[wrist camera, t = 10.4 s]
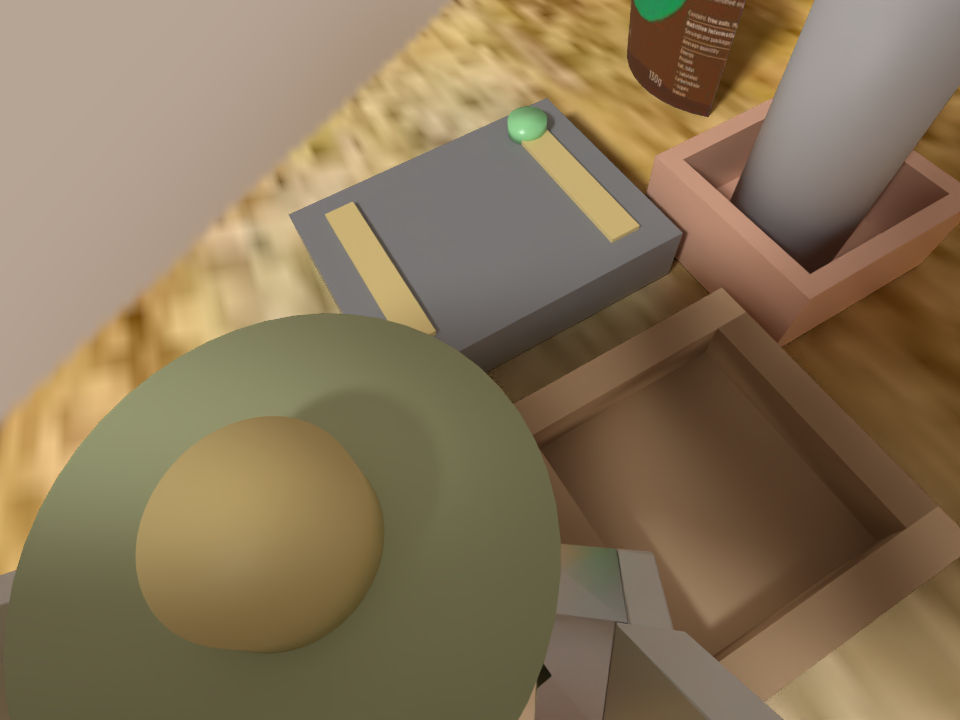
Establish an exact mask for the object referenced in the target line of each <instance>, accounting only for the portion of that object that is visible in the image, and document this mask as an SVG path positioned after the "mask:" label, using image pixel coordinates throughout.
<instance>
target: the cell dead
mask: <svg viewBox="0 0 960 720" xmlns="http://www.w3.org/2000/svg"><path fill="white" fill-rule="evenodd" d="M959 85H960V0H815V1H814V3H813V5H812V8H811V10H810V13H809V15H808V17H807V20H806V22H805V24H804V27H803V29H802V32H801V34H800V36H799V39H798V41H797V43H796V46H795V48H794V51H793V53H792V55H791V58H790V60H789V62H788V65H787V67H786V69H785V72H784V74H783V77H782V79H781V81H780V84H779V86H778V88H777V91H776V93H775V96H774V98H773V100H772V103H771V105H770V107H769V110H768V112H767V114H766V117H765V119H764V122H763V124H762V126H761V129H760V131H759V133H758V136H757V138H756V141H755V143H754V145H753V148H752V150H751V152H750V155H749V157H748V160H747V162H746V164H745V167H744V169H743V171H742V174H741V176H740V178H739V181H738V183H737V186H736V188H735V190H734V193H733V195H732V197H731V200H730V202H731V203H732V204H733V205H734V206H735V207H736V208H737V209H739V210H740V211H741V212H742V213H743V214H744V215H745V216H746V217H747V218H749V219H750V220H751V221H752V222H753V223H754V224H755V225H756V226H757V227H758V228H760V229H761V230H762V231H763V232H764V233H765V234H766V235H767V236H768V237H770V238H771V239H772V240H773V241H774V242H775V243H776V244H777V245H778V246H780V247H781V248H782V249H783V250H784V251H785V252H786V253H787V254H788V255H789V256H791V257H792V258H793V259H794V260H795V261H796V262H797V263H798V264H799V265H801V266H802V267H803V268H804V269H805V270H806V271H807V272H808V273H809V274H811V273H813V272H815V271H817V270H818V269H820V268H822V267H824V266H825V265H827V264H829V263H830V262H832V260H833V259H834V258H835V256H836V255H837V254H838V252H839V251H840V250H841V248H842V247H843V245H844V244H845V243H846V241H847V240H848V239H849V237H850V236H851V234H852V233H853V232H854V230H855V229H856V227H857V226H858V225H859V223H860V222H861V221H862V219H863V218H864V216H865V215H866V214H867V212H868V211H869V210H870V208H871V207H872V205H873V204H874V203H875V201H876V200H877V199H878V197H879V196H880V194H881V193H882V192H883V190H884V189H885V187H886V186H887V185H888V183H889V182H890V181H891V179H892V178H893V176H894V175H895V174H896V172H897V171H898V170H899V168H900V167H901V165H902V164H903V163H904V161H905V160H906V159H907V157H908V156H909V154H910V153H911V152H912V150H913V149H914V148H915V146H916V145H917V143H918V142H919V141H920V139H921V138H922V136H923V135H924V134H925V132H926V131H927V130H928V128H929V127H930V125H931V124H932V123H933V121H934V120H935V119H936V117H937V116H938V114H939V113H940V112H941V110H942V109H943V108H944V106H945V105H946V103H947V102H948V101H949V99H950V98H951V96H952V95H953V94H954V92H955V91H956V90H957V88H958V87H959Z"/></svg>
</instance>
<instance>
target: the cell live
mask: <svg viewBox="0 0 960 720" xmlns="http://www.w3.org/2000/svg"><path fill="white" fill-rule="evenodd" d="M560 579H561V538H560V530H559V522H558V514H557V506H556V501H555V497H554V493H553V490H552V486H551V482H550V478H549V474H548V470H547V468H546V465H545V463H544V460H543V458H542V456H541V453H540V451H539V448H538V446H537V443H536V441H535V439H534V437H533V435H532V433H531V432H530V430H529V428H528V426H527V425H526V423H525V421H524V419H523V418H522V416H521V414H520V413H519V411H518V410H517V408H516V407H515V406H514V405H513V403H512V402H511V401H510V399H509V398H508V397H507V395H506V394H505V393H504V392H503V390H502V389H501V388H500V387H499V386H498V385H497V384H496V383H495V382H494V381H493V380H492V379H491V378H490V377H489V376H488V375H487V374H486V373H485V372H484V371H483V370H482V369H481V368H480V367H479V366H477V365H476V364H475V363H474V362H472V361H471V360H470V359H468V358H467V357H466V356H464V355H463V354H462V353H460V352H459V351H458V350H456V349H454V348H453V347H451V346H449V345H447V344H445V343H444V342H442V341H440V340H438V339H437V338H435V337H433V336H431V335H429V334H426V333H424V332H421V331H419V330H416V329H414V328H411V327H409V326H406V325H403V324H399V323H395V322H392V321H388V320H384V319H381V318H375V317H368V316H361V315H354V314H328V313H321V314H309V315H297V316H290V317H285V318H280V319H275V320H269V321H264V322H261V323H258V324H255V325H251V326H248V327H245V328H241V329H238V330H235V331H233V332H230V333H228V334H225V335H223V336H221V337H218V338H216V339H213V340H211V341H209V342H206V343H205V344H203V345H201V346H199V347H197V348H195V349H193V350H191V351H190V352H188V353H186V354H184V355H182V356H180V357H178V358H177V359H175V360H174V361H172V362H171V363H169V364H168V365H166V366H165V367H163V368H162V369H160V370H159V371H157V372H156V373H154V374H153V375H151V376H150V377H149V378H148V379H147V380H145V381H144V382H143V383H142V384H140V385H139V386H138V387H137V388H135V389H134V390H133V391H132V392H130V393H129V394H128V395H127V396H126V397H125V398H124V399H122V400H121V401H120V402H119V403H118V404H117V405H116V406H115V407H114V408H113V409H112V410H111V411H110V412H109V413H108V414H107V415H106V416H105V417H104V418H103V419H102V420H101V421H100V422H99V423H98V425H97V426H96V427H95V428H94V429H93V431H92V432H91V433H90V434H89V435H88V436H87V438H86V439H85V440H84V441H83V442H82V444H81V445H80V446H79V447H78V448H77V450H76V451H75V453H74V454H73V456H72V457H71V459H70V460H69V461H68V463H67V464H66V466H65V467H64V469H63V470H62V471H61V473H60V474H59V476H58V477H57V479H56V481H55V483H54V484H53V486H52V488H51V490H50V492H49V493H48V495H47V497H46V499H45V501H44V502H43V504H42V506H41V508H40V509H39V512H38V514H37V516H36V519H35V521H34V523H33V526H32V528H31V530H30V533H29V535H28V537H27V540H26V542H25V544H24V547H23V551H22V554H21V557H20V560H19V564H18V567H17V570H16V573H15V576H14V580H13V584H12V589H11V595H10V600H9V605H8V610H7V616H6V623H5V638H4V653H3V665H4V681H5V697H6V703H7V708H8V712H9V717H10V720H518V719H519V718H520V716H521V714H522V712H523V710H524V709H525V707H526V705H527V703H528V701H529V698H530V696H531V693H532V691H533V688H534V686H535V683H536V681H537V678H538V676H539V673H540V671H541V668H542V666H543V663H544V661H545V657H546V653H547V649H548V645H549V641H550V638H551V634H552V630H553V626H554V622H555V617H556V610H557V602H558V595H559V587H560Z"/></svg>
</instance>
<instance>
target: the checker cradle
mask: <svg viewBox="0 0 960 720" xmlns="http://www.w3.org/2000/svg"><path fill="white" fill-rule="evenodd" d="M289 216H290V218H291V220H292V222H293V224H294V226H295V228H296V230H297V232H298V234H299V236H300V238H301V240H302V242H303V244H304V246H305V248H306V250H307V252H308V253H309V255H310V257H311V259H312V261H313V263H314V264H315V266H316V268H317V270H318V272H319V273H320V275H321V277H322V279H323V281H324V283H325V284H326V286H327V288H328V290H329V292H330V293H331V295H332V297H333V299H334V301H335V303H336V304H337V306H338V308H339V310H340V312H341V313H342V314H354V315H361V316H368V317H375V318H381V319H384V320H388V321H392V322H395V323H399V324H403V325H406V326H409V327H411V328H414V329H416V330H419V331H421V332H424V333H426V334H429V335H431V336H433V337H435V338H437V339H438V340H440V341H442V342H444V343H445V344H447V345H449V346H451V347H453V348H454V349H456V350H458V351H459V352H460V353H462V354H463V355H464V356H466V357H467V358H468V359H470V360H471V361H472V362H474V363H475V364H476V365H477V366H479V367H480V368H481V369H482V370H483V371H484V372H485V373H486V372H488V371H490V370H492V369H494V368H495V367H497V366H499V365H501V364H503V363H505V362H507V361H508V360H510V359H512V358H514V357H516V356H518V355H519V354H521V353H523V352H525V351H527V350H529V349H530V348H532V347H534V346H536V345H538V344H540V343H542V342H543V341H545V340H547V339H549V338H551V337H553V336H554V335H556V334H558V333H560V332H562V331H564V330H565V329H567V328H569V327H571V326H573V325H575V324H577V323H578V322H580V321H582V320H584V319H586V318H588V317H589V316H591V315H593V314H595V313H597V312H599V311H601V310H602V309H604V308H606V307H608V306H610V305H612V304H613V303H615V302H617V301H619V300H621V299H623V298H624V297H626V296H628V295H630V294H632V293H634V292H636V291H637V290H639V289H641V288H643V287H645V286H647V285H648V284H650V283H652V282H654V281H656V280H658V279H659V278H661V277H663V276H665V275H667V274H669V271H670V269H671V266H672V263H673V260H674V257H675V254H676V251H677V248H678V245H679V243H680V240H681V237H682V234H683V233H682V232H681V231H680V230H679V229H678V228H677V227H676V226H675V225H674V224H673V223H672V222H671V221H670V220H669V219H668V218H667V217H666V216H665V215H664V214H663V213H662V212H661V211H660V210H659V209H658V208H657V207H656V206H655V205H654V204H653V203H652V202H651V201H650V200H649V199H648V198H647V197H646V196H645V195H644V194H643V193H642V192H641V191H640V190H639V189H638V188H637V187H636V186H635V185H634V184H633V183H632V182H631V181H630V180H629V179H628V178H627V177H626V176H625V175H624V174H623V173H622V172H621V171H620V170H619V169H618V168H617V167H616V166H615V165H614V164H613V163H612V162H611V161H610V160H609V159H608V158H607V157H606V156H605V155H604V154H603V153H602V152H601V151H600V150H599V149H598V148H597V147H596V146H595V145H594V144H593V143H592V142H591V141H590V140H589V139H588V138H587V137H586V136H584V135H583V134H582V133H581V132H580V131H579V130H578V129H577V128H576V127H575V126H574V125H573V124H572V123H571V122H570V121H569V120H568V119H567V118H566V117H565V116H564V115H563V114H562V113H561V112H560V111H559V110H558V109H557V108H556V107H555V106H554V105H553V104H552V103H551V102H550V101H549V100H548V99H547V98H546V99H544V100H541V101H539V102H537V103H535V104H533V105H530V106H525V107H520V108H517V109H515V110H514V111H512V112H511V113H510V114H509V115H508V116H506V117H504V118H502V119H499V120H497V121H495V122H493V123H490V124H488V125H486V126H484V127H482V128H479V129H477V130H475V131H473V132H471V133H468V134H466V135H464V136H462V137H459V138H457V139H455V140H453V141H451V142H448V143H446V144H444V145H442V146H440V147H437V148H435V149H433V150H431V151H428V152H426V153H424V154H422V155H420V156H417V157H415V158H413V159H411V160H409V161H406V162H404V163H402V164H400V165H397V166H395V167H393V168H391V169H389V170H386V171H384V172H382V173H380V174H378V175H375V176H373V177H371V178H369V179H366V180H364V181H362V182H360V183H358V184H355V185H353V186H351V187H349V188H347V189H344V190H342V191H340V192H338V193H335V194H333V195H331V196H329V197H327V198H324V199H322V200H320V201H318V202H316V203H313V204H311V205H309V206H307V207H304V208H302V209H300V210H298V211H296V212H293V213H291V214H289Z"/></svg>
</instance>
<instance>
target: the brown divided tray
mask: <svg viewBox="0 0 960 720" xmlns="http://www.w3.org/2000/svg"><path fill="white" fill-rule="evenodd" d="M513 405H514V406H515V407H516V408H517V410H518V411H519V413H520V414H521V416H522V418H523V419H524V421H525V423H526V425H527V426H528V428H529V430H530V432H531V433H532V435H533V437H534V439H535V441H536V443H537V446H538V448H539V451H540V453H541V456H542V458H543V460H544V463H545V465H546V468H547V470H548V474H549V478H550V482H551V486H552V490H553V493H554V497H555V501H556V506H557V514H558V522H559V530H560V538H561V544H569V545H580V546H590V547H601V548H612V549H628V550H640V551H650V552H651V553H653V554H654V556H655V560H656V564H657V568H658V571H659V575H660V579H661V583H662V587H663V590H664V594H665V598H666V602H667V606H668V609H669V613H670V617H671V621H672V625H673V628H674V630H677V631H684V632H686V633H687V634H688V635H689V636H691V637H692V638H693V639H694V640H695V641H696V642H697V643H698V644H699V645H701V646H702V647H703V648H704V649H705V650H706V651H707V652H708V653H710V654H711V655H712V656H713V657H714V658H715V659H716V660H717V661H718V662H720V663H721V664H722V665H723V666H724V667H725V668H726V669H727V670H729V671H730V672H731V673H732V674H733V675H734V676H735V677H736V678H737V679H739V680H740V681H741V682H742V683H743V684H744V685H745V686H746V687H748V688H749V689H750V690H751V691H752V692H753V693H754V694H755V695H756V696H758V697H759V698H760V699H761V700H762V701H763V702H764V701H766V700H767V699H768V698H770V697H771V696H772V695H774V694H775V693H776V692H778V691H779V690H780V689H782V688H783V687H785V686H786V685H787V684H789V683H790V682H791V681H793V680H794V679H795V678H797V677H798V676H799V675H801V674H802V673H803V672H805V671H806V670H807V669H809V668H810V667H812V666H813V665H814V664H816V663H817V662H818V661H820V660H821V659H822V658H824V657H825V656H826V655H828V654H829V653H830V652H832V651H833V650H834V649H836V648H837V647H839V646H840V645H841V644H843V643H844V642H845V641H847V640H848V639H849V638H851V637H852V636H853V635H855V634H856V633H857V632H859V631H860V630H862V629H863V628H864V627H866V626H867V625H868V624H870V623H871V622H872V621H874V620H875V619H876V618H878V617H879V616H880V615H882V614H883V613H884V612H886V611H887V610H889V609H890V608H891V607H893V606H894V605H895V604H897V603H898V602H899V601H901V600H902V599H903V598H905V597H906V596H907V595H909V594H910V593H911V592H913V591H914V590H916V589H917V588H918V587H920V586H921V585H922V584H924V583H925V582H926V581H928V580H929V579H930V578H932V577H933V576H934V575H936V574H937V573H939V572H940V571H941V570H943V569H944V568H945V567H947V566H948V565H949V564H951V563H952V562H953V561H955V560H956V559H957V558H959V557H960V527H959V526H958V525H957V524H956V523H955V522H954V521H953V520H952V519H951V518H950V517H949V516H948V515H947V514H946V513H945V512H944V511H943V510H942V509H941V508H940V507H939V506H938V505H937V504H936V503H935V502H934V501H933V500H932V499H931V498H930V497H929V496H928V495H927V494H926V493H925V492H924V491H923V490H922V489H921V488H920V487H919V486H918V485H917V484H916V483H915V482H914V481H913V480H912V479H911V478H910V477H909V476H908V474H907V473H906V472H905V471H904V470H903V469H902V468H901V467H900V466H899V465H898V464H897V463H896V462H895V461H894V460H893V459H892V458H891V457H890V456H889V455H888V454H887V453H886V452H885V451H884V450H883V449H882V448H881V447H880V446H879V445H878V444H877V443H876V442H875V441H874V440H873V439H872V438H871V437H870V436H869V435H868V434H867V433H866V432H865V431H864V430H863V429H862V428H861V427H860V426H859V425H858V424H857V423H856V422H855V421H854V420H853V419H852V418H851V417H850V416H849V415H848V414H847V413H846V412H845V411H844V410H843V409H842V408H841V407H840V406H839V405H838V404H837V403H836V402H835V401H834V400H833V399H832V398H831V397H830V396H829V395H828V394H827V393H826V392H825V391H824V390H823V389H822V388H821V387H820V386H819V385H818V384H817V383H816V382H815V381H814V380H813V379H812V378H811V377H810V376H809V375H808V374H807V373H806V372H805V371H804V370H803V369H802V368H801V367H800V366H799V365H798V364H797V363H796V362H795V361H794V360H793V359H792V358H791V357H790V356H789V355H788V354H787V353H786V352H785V350H784V349H783V348H782V347H781V346H780V345H779V344H778V343H777V342H776V341H775V340H774V339H773V338H772V337H771V336H770V335H769V334H768V333H767V332H766V331H765V330H764V329H763V328H762V327H761V326H760V325H759V324H758V323H757V322H756V321H755V320H754V319H753V318H752V317H751V316H750V315H749V314H748V313H747V312H746V311H745V310H744V309H743V308H742V307H741V306H740V305H739V304H738V303H737V302H736V301H735V300H734V299H733V298H732V297H731V296H730V295H729V294H728V293H727V292H726V291H725V290H724V289H723V288H720V289H718V290H716V291H714V292H713V293H711V294H709V295H707V296H705V297H704V298H702V299H700V300H698V301H697V302H695V303H693V304H691V305H689V306H688V307H686V308H684V309H682V310H680V311H679V312H677V313H675V314H673V315H672V316H670V317H668V318H666V319H664V320H663V321H661V322H659V323H657V324H655V325H654V326H652V327H650V328H648V329H647V330H645V331H643V332H641V333H639V334H638V335H636V336H634V337H632V338H630V339H629V340H627V341H625V342H623V343H622V344H620V345H618V346H616V347H614V348H613V349H611V350H609V351H607V352H605V353H604V354H602V355H600V356H598V357H597V358H595V359H593V360H591V361H589V362H588V363H586V364H584V365H582V366H580V367H579V368H577V369H575V370H573V371H572V372H570V373H568V374H566V375H564V376H563V377H561V378H559V379H557V380H555V381H554V382H552V383H550V384H548V385H547V386H545V387H543V388H541V389H539V390H538V391H536V392H534V393H532V394H530V395H529V396H527V397H525V398H523V399H522V400H520V401H518V402H516V403H514V404H513ZM535 689H536V683H535V686H534V688H533V691H532V693H531V696H530V698H529V701H528V703H527V705H526V707H525V709H524V710H523V712H522V714H521V716H520V718H519V719H518V720H534V714H535Z"/></svg>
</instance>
